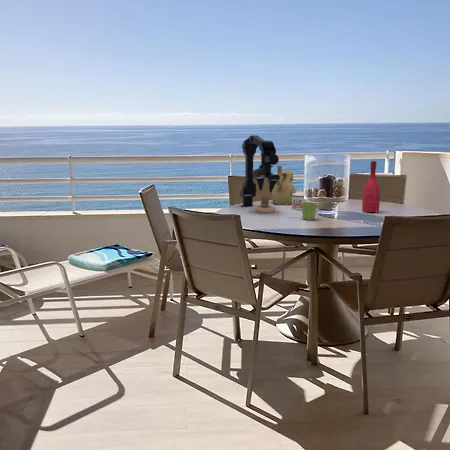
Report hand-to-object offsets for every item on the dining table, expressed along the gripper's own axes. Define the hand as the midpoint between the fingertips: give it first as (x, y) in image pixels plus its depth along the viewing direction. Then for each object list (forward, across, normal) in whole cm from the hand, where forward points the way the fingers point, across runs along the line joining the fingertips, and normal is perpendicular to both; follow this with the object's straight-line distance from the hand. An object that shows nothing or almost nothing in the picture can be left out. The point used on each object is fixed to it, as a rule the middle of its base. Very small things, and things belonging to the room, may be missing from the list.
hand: (265, 191), depth 286 cm
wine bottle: (+13, +26, +58) cm, 65 cm away
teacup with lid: (+13, -1, +28) cm, 31 cm away
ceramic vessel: (+13, -25, +33) cm, 43 cm away
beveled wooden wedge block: (+11, 0, 0) cm, 11 cm away
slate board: (+13, -1, 0) cm, 13 cm away
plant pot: (+13, +26, +10) cm, 31 cm away
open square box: (+12, 0, 0) cm, 12 cm away
